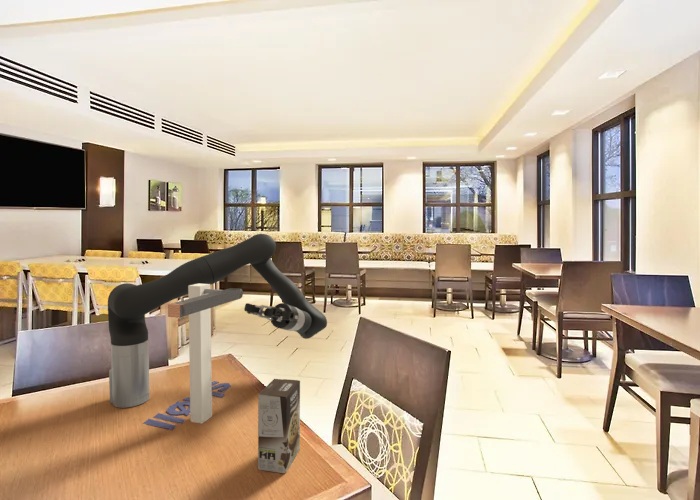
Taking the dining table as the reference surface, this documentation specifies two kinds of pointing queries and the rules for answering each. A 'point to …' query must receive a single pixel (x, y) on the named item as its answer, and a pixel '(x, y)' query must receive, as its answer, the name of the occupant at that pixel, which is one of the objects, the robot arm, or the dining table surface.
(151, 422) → the signage
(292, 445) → the coffee box
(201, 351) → the stand
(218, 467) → the dining table surface
